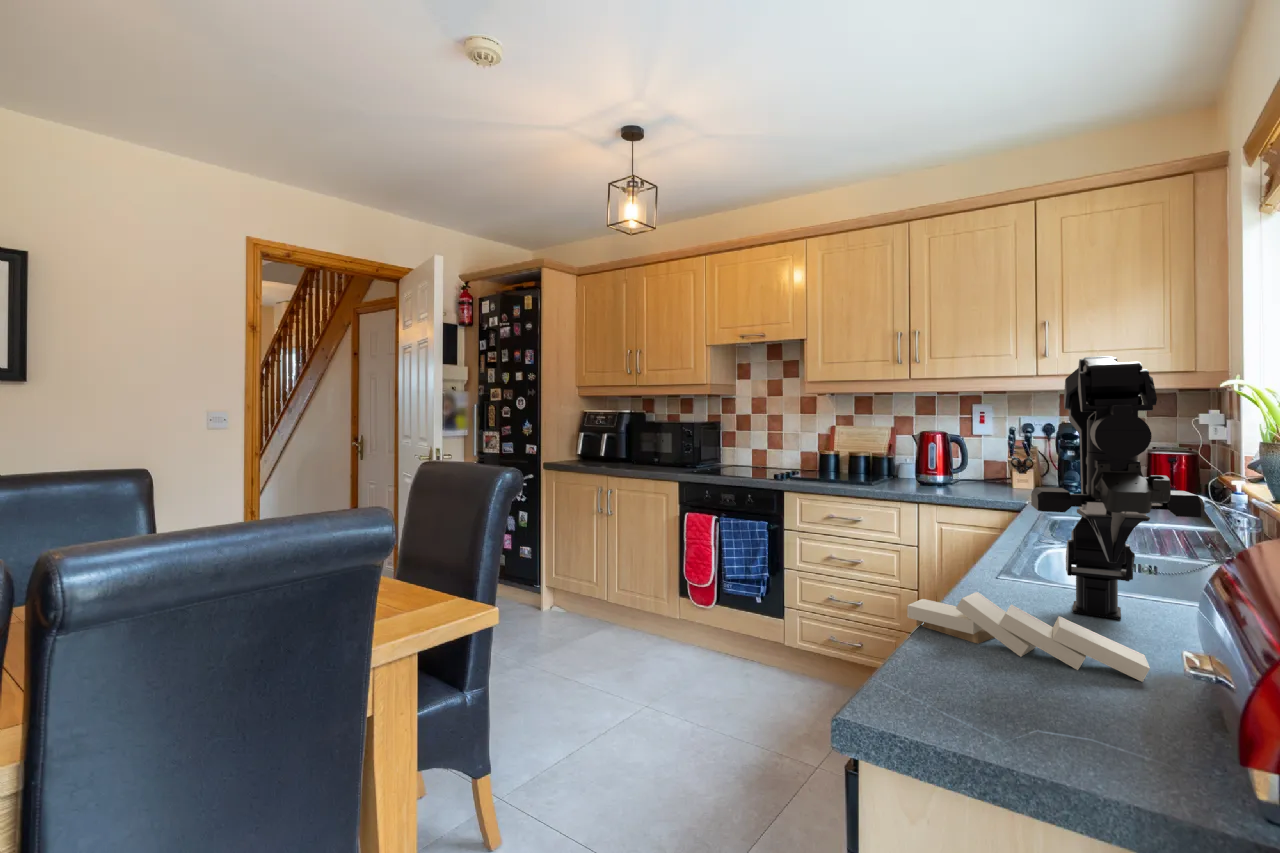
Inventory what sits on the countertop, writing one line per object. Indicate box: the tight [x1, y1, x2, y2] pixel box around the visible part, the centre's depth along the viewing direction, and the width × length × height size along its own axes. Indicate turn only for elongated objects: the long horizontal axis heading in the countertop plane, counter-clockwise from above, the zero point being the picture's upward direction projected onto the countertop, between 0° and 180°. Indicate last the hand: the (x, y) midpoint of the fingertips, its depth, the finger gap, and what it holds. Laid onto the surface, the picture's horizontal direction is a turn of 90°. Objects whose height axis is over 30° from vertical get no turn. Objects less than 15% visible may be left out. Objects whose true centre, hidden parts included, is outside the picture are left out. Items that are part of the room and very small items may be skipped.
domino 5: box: [1052, 615, 1151, 683], centre depth 82 cm, size 2×5×10 cm
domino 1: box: [906, 598, 983, 634], centre depth 96 cm, size 2×5×10 cm
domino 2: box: [916, 620, 996, 644], centre depth 97 cm, size 2×5×10 cm
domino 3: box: [956, 591, 1036, 658], centre depth 91 cm, size 2×5×10 cm
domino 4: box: [999, 604, 1087, 671], centre depth 86 cm, size 2×5×10 cm
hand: (1111, 562), depth 88 cm, fingers closed
